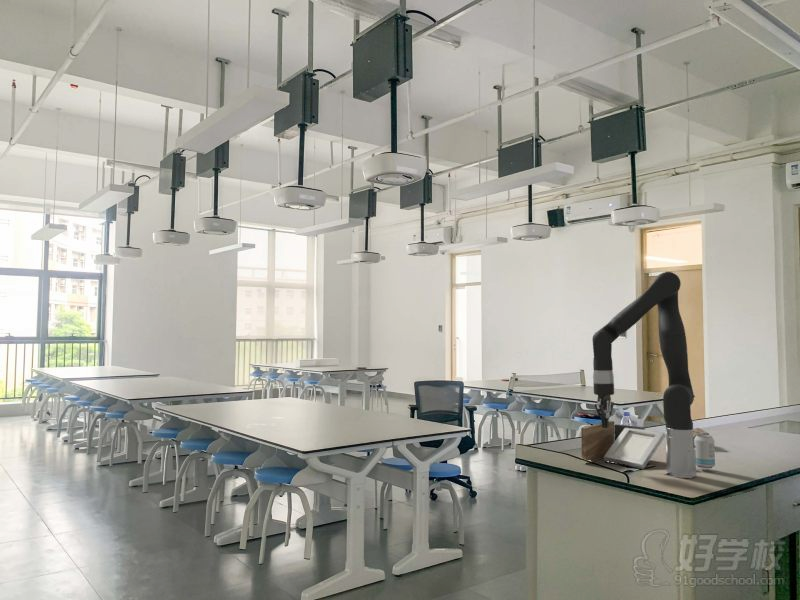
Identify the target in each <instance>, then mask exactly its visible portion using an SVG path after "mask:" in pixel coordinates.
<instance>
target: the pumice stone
mask: <svg viewBox="0 0 800 600" xmlns="http://www.w3.org/2000/svg"><path fill="white" fill-rule="evenodd" d="M697 434H705V435H710V432H706V431H705V430H704V429H701V428H700V427H693V446H694V439H695V437H696V435H697Z"/></svg>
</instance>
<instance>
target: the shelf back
mask: <svg viewBox="0 0 800 600" xmlns="http://www.w3.org/2000/svg"><path fill="white" fill-rule="evenodd" d="M580 429H581V431H580V432H581V433H580V434H581V435H580V436H581V437H580V438H581V442H580V443H581V459H582V458H583V459H586V460H591V461H594V462H596V460H597V461H599V459H600V460H601V459H604V455H605V454H606V453H607V451H608V450H609V449H610V447H611V446H612V445H613V443H614V442H615V421H614V420H609V427H608V428H602V422H601V423H596V424H592V425H589V426H584V427H581V428H580Z"/></svg>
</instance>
